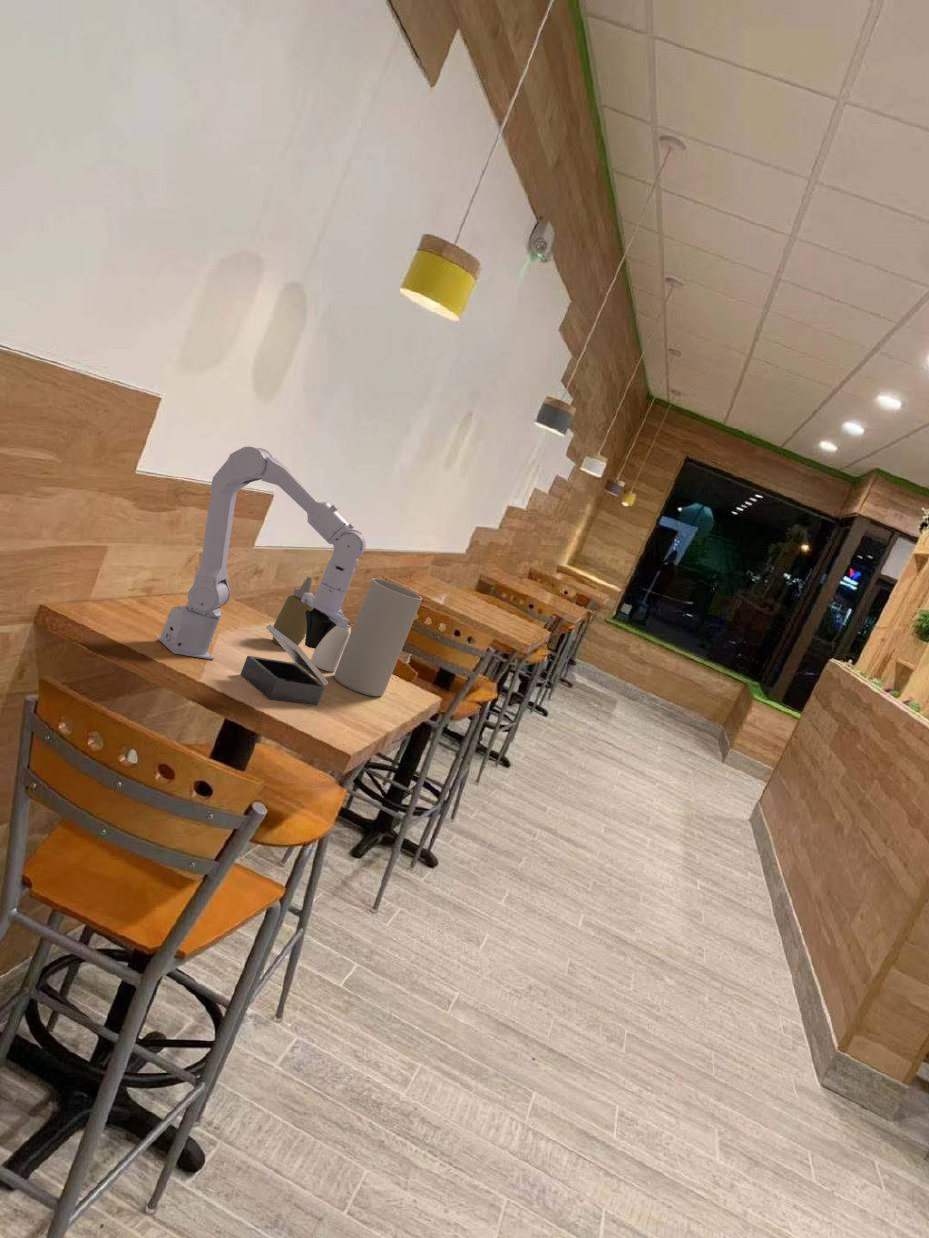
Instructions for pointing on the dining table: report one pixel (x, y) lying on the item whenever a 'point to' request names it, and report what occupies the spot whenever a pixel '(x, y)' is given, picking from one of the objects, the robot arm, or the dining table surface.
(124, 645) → the dining table surface
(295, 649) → the lid
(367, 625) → the cylinder vase
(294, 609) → the squeeze bottle
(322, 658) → the can
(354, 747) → the dining table surface
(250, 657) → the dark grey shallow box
